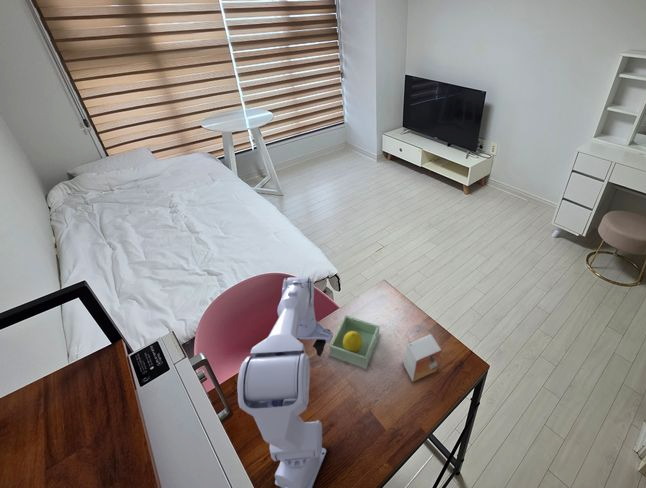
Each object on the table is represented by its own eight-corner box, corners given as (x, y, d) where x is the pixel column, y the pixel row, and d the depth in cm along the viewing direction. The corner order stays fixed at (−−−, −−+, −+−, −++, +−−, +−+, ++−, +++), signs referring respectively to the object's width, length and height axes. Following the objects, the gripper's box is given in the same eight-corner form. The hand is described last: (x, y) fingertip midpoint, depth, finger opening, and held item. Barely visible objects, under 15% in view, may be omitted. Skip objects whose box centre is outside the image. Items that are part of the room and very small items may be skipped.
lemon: (365, 349, 98) (366, 333, 93) (352, 363, 94) (352, 347, 90) (352, 338, 101) (352, 322, 96) (339, 350, 97) (338, 334, 93)
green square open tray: (366, 368, 93) (366, 359, 90) (330, 356, 96) (329, 346, 93) (378, 335, 102) (379, 326, 99) (345, 324, 105) (345, 315, 102)
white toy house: (412, 382, 91) (416, 361, 85) (403, 364, 95) (405, 343, 89) (437, 371, 93) (442, 350, 87) (426, 354, 98) (431, 333, 92)
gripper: (337, 311, 81) (339, 343, 88) (285, 294, 84) (291, 327, 92) (323, 335, 75) (327, 367, 83) (269, 316, 79) (277, 349, 86)
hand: (307, 347), depth 87 cm, fingers open, 7 cm apart
